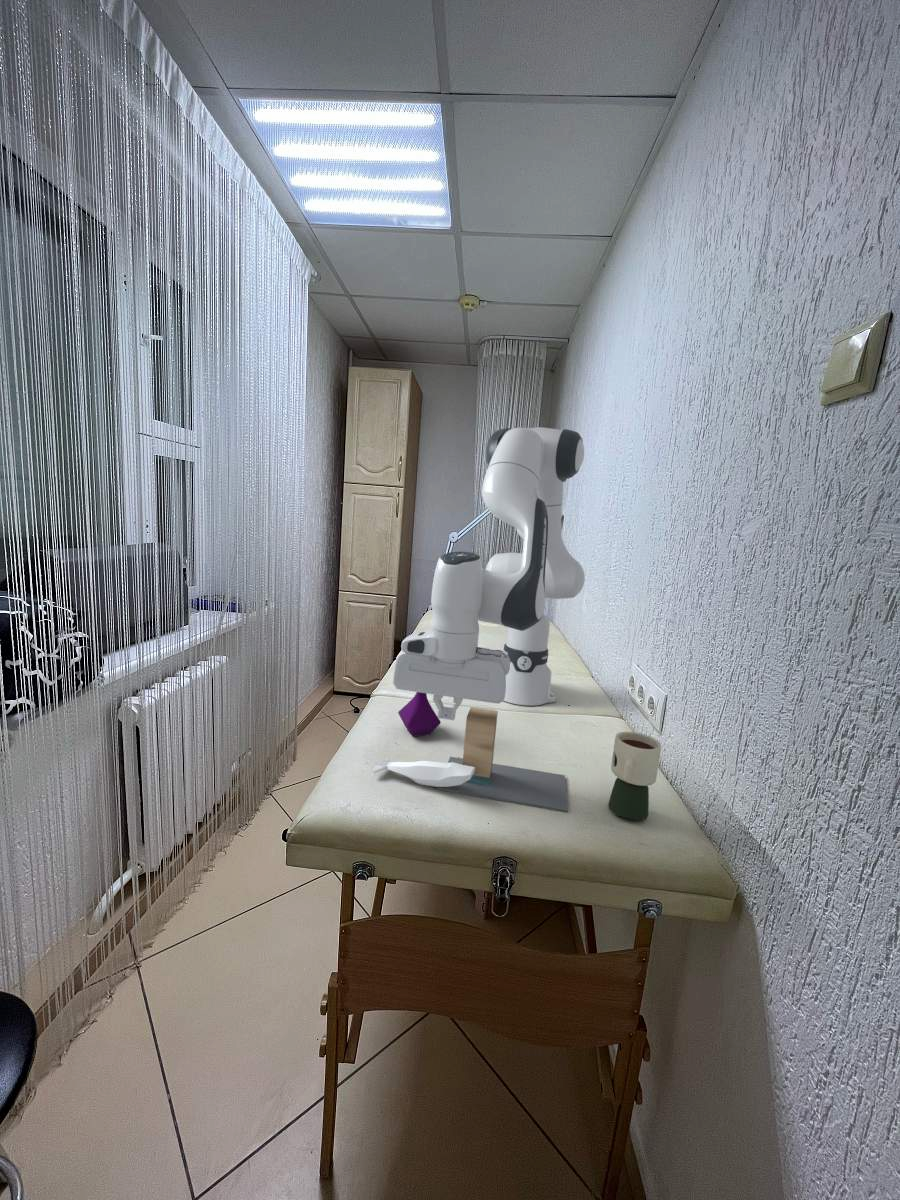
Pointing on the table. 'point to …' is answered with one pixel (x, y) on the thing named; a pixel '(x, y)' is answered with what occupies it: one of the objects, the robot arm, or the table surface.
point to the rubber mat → (518, 787)
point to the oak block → (480, 743)
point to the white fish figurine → (429, 772)
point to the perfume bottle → (419, 716)
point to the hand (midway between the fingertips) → (446, 718)
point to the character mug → (633, 774)
